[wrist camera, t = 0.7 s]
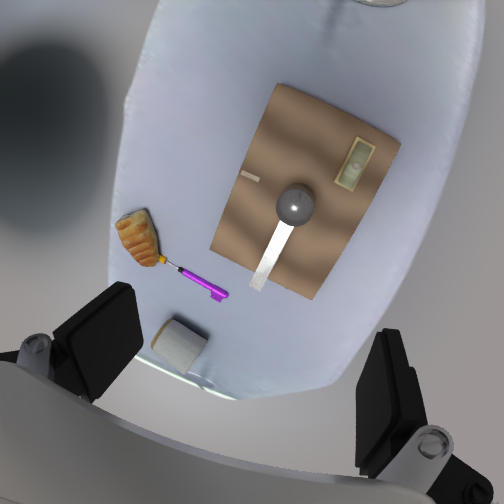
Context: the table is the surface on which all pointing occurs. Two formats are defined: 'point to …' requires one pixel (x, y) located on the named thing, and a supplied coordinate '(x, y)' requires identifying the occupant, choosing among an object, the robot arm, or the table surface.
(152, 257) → the pastry
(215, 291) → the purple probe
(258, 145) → the brown wooden board
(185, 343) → the ceramic mug
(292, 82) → the table surface
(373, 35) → the table surface
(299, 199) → the ball-ended lever
